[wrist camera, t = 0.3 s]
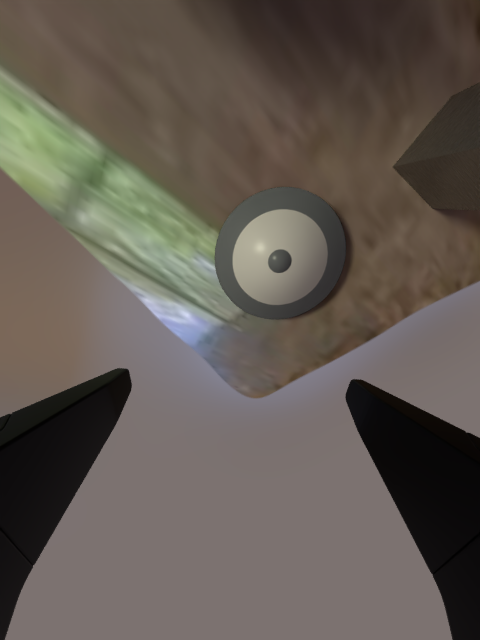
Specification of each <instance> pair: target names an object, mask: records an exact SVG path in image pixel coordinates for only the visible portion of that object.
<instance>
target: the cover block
mask: <svg viewBox="0 0 480 640" xmlns="http://www.w3.org/2000/svg"><path fill="white" fill-rule="evenodd" d="M393 168H394V169H395V170H396V171H397V172H398V173H399V174H400V175H401V176H402V177H403V178H404V179H405V180H406V181H407V182H408V184H409V185H410V186H411V187H412V188H413V189H414V190H415V191H416V192H417V193H418V194H419V195H420V196H421V197H422V198H423V199H424V200H425V201H426V202H427V203H428V204H429V205H430V206H431V207H432V208H433V209H456V210H480V82H479V83H477V84H475V85H473V86H471V87H469V88H467V89H465V90H463V91H461V92H459V93H457V94H455V95H453V96H452V97H451V98H450V99H449V100H448V101H447V103H446V104H445V105H444V106H443V107H442V109H441V110H440V111H439V112H438V113H437V115H436V116H435V117H434V118H433V119H432V121H431V122H430V123H429V124H428V125H427V126H426V128H425V129H424V130H423V131H422V132H421V134H420V135H419V136H418V137H417V138H416V140H415V141H414V142H413V143H412V144H411V146H410V147H409V148H408V149H407V150H406V152H405V153H404V154H403V155H402V156H401V158H400V159H399V160H398V161H397V162H396V163H395V165H394V166H393Z"/></svg>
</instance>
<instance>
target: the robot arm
mask: <svg viewBox="0 0 480 640" xmlns="http://www.w3.org/2000/svg"><path fill="white" fill-rule="evenodd" d="M131 387H132V383H131V379H130V374H129V370H128V369H122V368H117V369H115V370H112V371H110V372H108V373H105V374H103V375H100V376H98V377H96V378H94V379H91V380H89V381H86V382H84V383H81V384H79V385H77V386H74V387H72V388H70V389H67V390H65V391H63V392H61V393H58V394H56V395H53V396H51V397H48V398H46V399H44V400H41V401H39V402H37V403H34V404H32V405H30V406H27V407H25V408H23V409H20V410H18V411H15V412H13V413H12V414H7V415H5V416H3V417H0V640H5V637H6V634H7V631H8V628H9V624H10V621H11V618H12V615H13V612H14V609H15V606H16V603H17V600H18V597H19V595H20V592H21V590H22V588H23V585H24V583H25V581H26V579H27V577H28V575H29V573H30V572H31V570H32V568H33V565H34V564H35V563H36V561H37V559H38V558H39V556H40V554H41V553H42V551H43V549H44V547H45V546H46V544H47V542H48V540H49V539H50V537H51V535H52V534H53V532H54V530H55V528H56V527H57V525H58V523H59V521H60V520H61V518H62V516H63V514H64V513H65V511H66V509H67V508H68V506H69V504H70V503H71V501H72V499H73V497H74V496H75V493H76V492H77V490H78V489H79V487H80V485H81V484H82V482H83V480H84V478H85V477H86V475H87V473H88V472H89V470H90V468H91V466H92V465H93V463H94V461H95V460H96V458H97V456H98V454H99V453H100V451H101V449H102V447H103V445H104V444H105V442H106V441H107V439H108V437H109V435H110V434H111V432H112V430H113V429H114V427H115V425H116V423H117V421H118V419H119V417H120V415H121V412H122V410H123V408H124V405H125V403H126V401H127V399H128V396H129V394H130V392H131ZM346 402H347V404H348V407H349V409H350V412H351V415H352V417H353V420H354V422H355V425H356V427H357V430H358V432H359V434H360V436H361V438H362V440H363V442H364V444H365V446H366V448H367V450H368V452H369V454H370V456H371V458H372V460H373V462H374V463H375V465H376V467H377V469H378V471H379V473H380V475H381V477H382V479H383V481H384V483H385V485H386V487H387V489H388V491H389V492H390V494H391V496H392V498H393V500H394V502H395V504H396V506H397V508H398V510H399V512H400V514H401V516H402V517H403V519H404V521H405V523H406V525H407V527H408V529H409V531H410V533H411V535H412V537H413V539H414V541H415V543H416V545H417V547H418V549H419V551H420V552H421V554H422V556H423V558H424V560H425V562H426V564H427V566H428V568H429V570H430V572H431V573H432V574H433V578H434V580H435V582H436V584H437V586H438V588H439V590H440V593H441V596H442V599H443V602H444V605H445V609H446V613H447V618H448V622H449V626H450V631H451V634H452V639H453V640H480V438H479V437H477V436H475V435H473V434H471V433H466V432H465V431H464V430H462V429H460V428H458V427H455V426H454V425H452V424H450V423H448V422H446V421H444V420H441V419H440V418H438V417H436V416H434V415H432V414H430V413H428V412H426V411H423V410H421V409H420V408H417V407H415V406H414V405H411V404H410V403H408V402H406V401H404V400H402V399H400V398H397V397H395V396H393V395H391V394H389V393H387V392H385V391H383V390H381V389H379V388H377V387H375V386H373V385H371V384H369V383H367V382H365V381H363V380H357V379H356V380H355V379H353V380H351V382H350V384H349V387H348V389H347V392H346Z"/></svg>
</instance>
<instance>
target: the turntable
mask: <svg viewBox="0 0 480 640" xmlns="http://www.w3.org/2000/svg"><path fill="white" fill-rule="evenodd" d="M345 255H346V241H345V235H344V230H343V228H342V225H341V222H340V220H339V218H338V217H337V215H336V213H335V212H334V211H333V209H332V208H331V207H330V206H329V205H328V204H327V203H326V202H325V201H324V200H323V199H321V198H320V197H318V196H317V195H315V194H313V193H311V192H309V191H306V190H303V189H299V188H293V187H278V188H271V189H268V190H264V191H261V192H259V193H257V194H255V195H253V196H251V197H249V198H248V199H246V200H245V201H243V202H242V203H241V204H240V205H239V206H237V207H236V208H235V210H234V211H233V212H232V213H231V214H230V215H229V217H228V218H227V220H226V221H225V223H224V225H223V227H222V229H221V231H220V233H219V236H218V239H217V244H216V248H215V267H216V273H217V276H218V279H219V282H220V284H221V286H222V289H223V290H224V292H225V293H226V295H227V296H228V297H229V298H230V300H231V301H232V302H233V303H234V304H235V305H237V306H238V307H239V308H241V309H242V310H243V311H245V312H247V313H249V314H251V315H254V316H257V317H261V318H266V319H285V318H290V317H294V316H297V315H300V314H303V313H305V312H307V311H309V310H310V309H312V308H313V307H315V306H316V305H318V304H319V303H320V302H321V301H322V300H323V299H324V298H325V297H326V296H327V295H328V294H329V293H330V292H331V290H332V289H333V288H334V286H335V284H336V283H337V281H338V279H339V277H340V275H341V272H342V269H343V266H344V261H345Z"/></svg>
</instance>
